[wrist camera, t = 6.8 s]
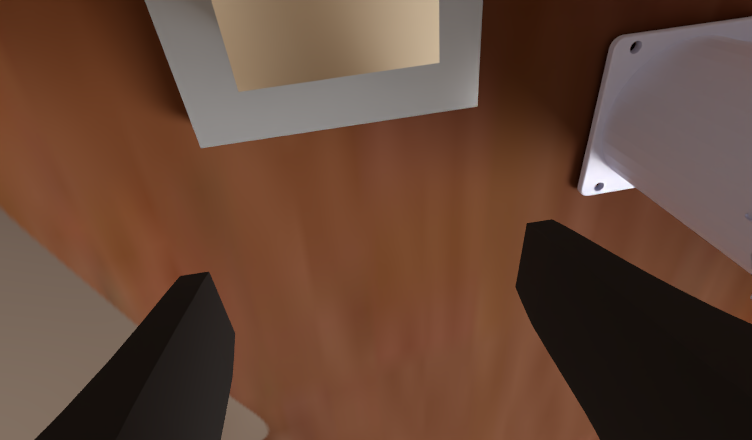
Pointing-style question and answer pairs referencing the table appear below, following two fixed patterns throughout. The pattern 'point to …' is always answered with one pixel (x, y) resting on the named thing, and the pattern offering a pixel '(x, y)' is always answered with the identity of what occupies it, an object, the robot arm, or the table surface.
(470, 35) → the plate
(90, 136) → the table surface
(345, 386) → the table surface
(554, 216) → the table surface
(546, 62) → the table surface
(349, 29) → the maple cube
